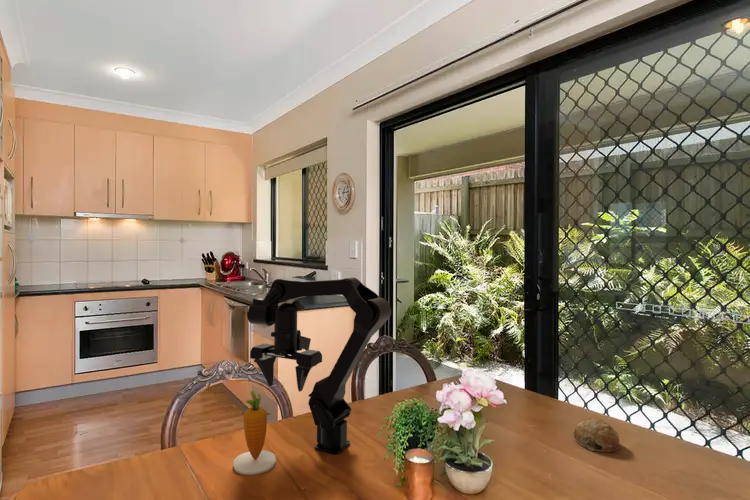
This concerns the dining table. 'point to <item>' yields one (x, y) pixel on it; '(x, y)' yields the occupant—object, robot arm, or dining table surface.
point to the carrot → (255, 426)
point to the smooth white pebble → (254, 463)
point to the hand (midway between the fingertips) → (285, 388)
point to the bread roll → (596, 435)
